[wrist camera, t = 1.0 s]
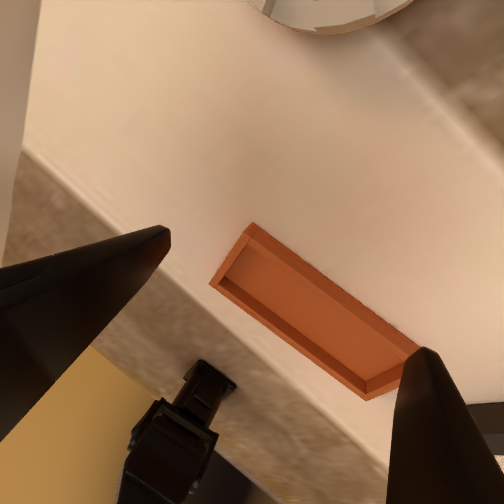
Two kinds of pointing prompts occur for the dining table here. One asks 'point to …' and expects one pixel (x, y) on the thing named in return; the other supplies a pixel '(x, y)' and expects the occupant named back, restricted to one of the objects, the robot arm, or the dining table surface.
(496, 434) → the marker
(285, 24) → the flag stand
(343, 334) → the pen tray
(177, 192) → the dining table surface
